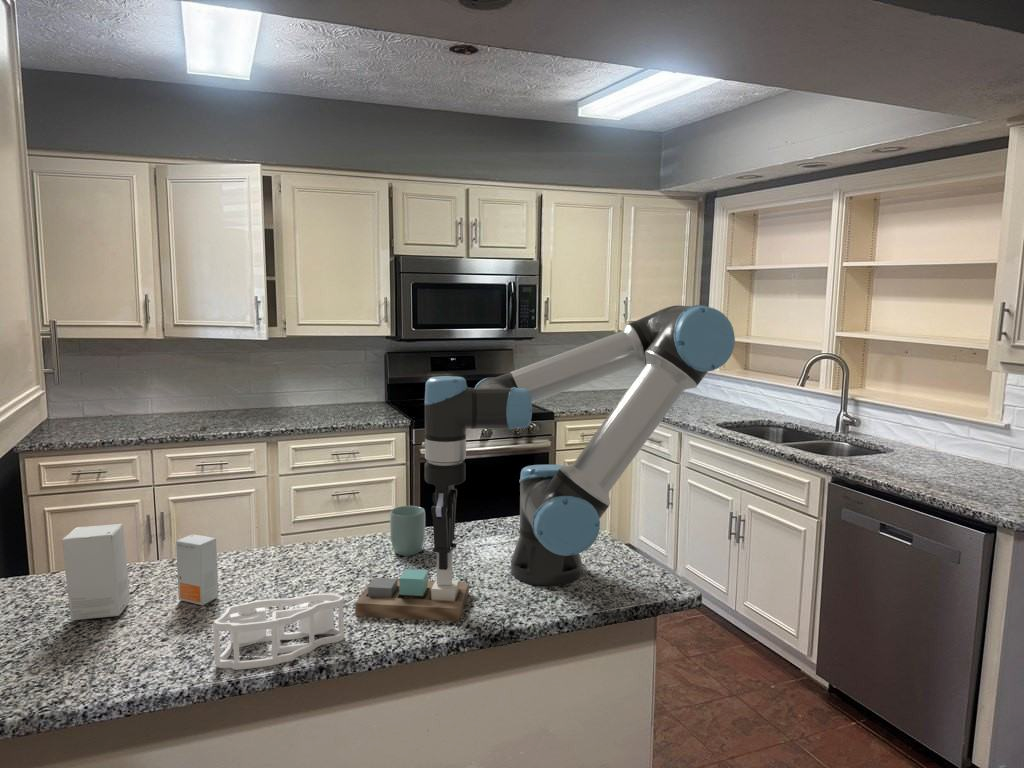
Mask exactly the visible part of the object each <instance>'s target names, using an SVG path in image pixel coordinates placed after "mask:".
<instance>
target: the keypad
mask: <svg viewBox="0 0 1024 768" xmlns="http://www.w3.org/2000/svg"><path fill="white" fill-rule="evenodd" d="M373 580H374V578H372V579H371V581H370V582H369V583H368V585H367V586H366V588H365V589H364V591H363V592H362V593H361V594H360V595H359V597H358V598H357V600H356V602H355V605H354V606H355V614H354V615H355V617H365V618H366V617H367V618H381V619H382V618H384V619H405V620H408V619H409V620H423V621H426V620H427V621H445V622H446V621H450V622H460V621H461V617H462V615H463V612H464V609H465V606H466V603H467V600H468V598H469V594H470V593H469V591H470V590H469V583H468V582H459V596H458V599H457V601H443V600H431V589H432V587H433V585H434V582H435V581H434V580H432V581H429V580H428V587H427V589H426V591H425V593H424V595H423V596H414V595H400V579H397V592H396V593H395V595H394V597H393V598H384V597H368V587H369V585H370V584H371V582H372V581H373Z"/></svg>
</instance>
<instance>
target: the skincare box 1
mask: <svg viewBox="0 0 1024 768" xmlns="http://www.w3.org/2000/svg"><path fill="white" fill-rule="evenodd" d="M124 533H125V531H124V524H123V523H117V524H116V523H115V524H103V525H91V526H90V525H89V526H78V527H75V528H74V529H72V530H71V532H69V533H68V534H67V535H65V536H64V537H63V538H62V539H61V543H62V544H61V547H62V553H63V554H62V555H63V562H64V563H63V564H64V571H65V579H66V589H67V597H68V598H67V599H68V607H69V615H70V621H79V620H89V619H90V620H92V619H100V618H108V617H119V616H120V615H121V614H122V613H123V611H124V610H125V609H126V607H127V606H128V605H129V603H130V602H131V595H130V583H129V575H128V562H127V554H126V553H127V552H126V543H125V534H124Z"/></svg>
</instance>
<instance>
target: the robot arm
mask: <svg viewBox="0 0 1024 768" xmlns="http://www.w3.org/2000/svg"><path fill="white" fill-rule="evenodd" d="M735 343H736V337H735V331H734V328H733V325H732V323H731V321H730V320H729V318H728V316H726V315H725V314H724V313H723V312H722V311H720V310H718V309H716V308H715V307H710V306H707V305H703V304H695V305H671V306H668V307H664V308H662V309H659V310H658V311H655V312H654V313H651V314H649V315H648V314H647V315H646V316H645V317H642V318H639V319H637V320H634V321H632V322H629V323H626V324H624V326H623V328H622V330H621V331H619V332H616V333H614V334H611V335H607V336H605V337H602V338H599V339H597V340H595V341H592V342H588V343H586V344H583V345H581V346H577V347H575V348H572V349H569V350H567V351H564V352H562V353H559V354H557V355H554V356H551V357H548V358H545V359H542V360H539V361H537V362H534V363H532V364H529V365H526V366H524V367H521V368H520V367H519V368H517V369H515V370H513V371H510V372H508V373H505V374H502V375H498V376H495V377H486V378H483V379H481V380H480V381H479V382H477V384H475V385H474V386H475V387H469V386H468V384H467V380H466V379H465V377H463V376H453V375H441V376H432V377H430V378H428V380H427V381H426V382H425V387H424V388H425V389H424V390H425V391H424V441H423V442H422V443H421V447H423V448H425V449H424V459H426V462H425V463H424V481H425V482H426V483H427V484H429V485H433V486H434V487H435V491H434V492H433V493H432V503H433V505H432V506H431V509H430V511H431V516H432V526H433V527H432V529H433V545H434V546H433V548H432V553H436V579H437V585H451V584H452V580H453V548H454V549H456V548H457V544H458V543H454V541H455V540H456V537H455V535H456V534H455V529H456V512H457V510H456V509H457V498H458V489H457V488H455V486H457V485H461V484H462V483H464V482H465V481H466V462H465V459H467V434H466V433H467V432H466V431H467V429H469V430H477V429H479V430H480V429H482V430H483V429H484V430H485V429H486V430H487V429H488V430H493V429H496V430H497V429H499V430H500V429H501V430H502V429H503V430H505V429H507V430H516V429H525V428H528V427H529V426H530V424H531V423H532V422H531V421H532V418H533V417H532V416H533V404H534V403H536V402H539V401H542V400H544V399H547V398H550V397H552V396H555V395H558V394H561V393H563V392H566V391H568V390H572V389H573V388H574V389H575V388H576V387H579V386H582V385H585V384H587V383H590V382H593V381H596V380H599V379H601V378H604V377H606V376H610V375H612V374H615V373H617V372H620V371H623V370H626V369H629V368H631V367H634V366H636V367H638V368H640V369H641V370H640V372H639V373H638V375H637V376H636V377H635V379H634V380H633V381H632V383H631V384H630V385H629V386H628V388H627V389H626V391H624V392H625V393H624V394H623V395H622V396H621V398H620V399H619V401H618V402H617V403H616V405H614V408H613V409H612V410H611V411H610V413H608V415H607V416H606V418H605V419H604V421H603V422H602V423H601V425H600V426H599V428H598V429H597V430H596V432H595V433H594V435H593V436H592V437H591V439H590V440H589V441H588V443H586V446H585V447H584V448H583V449H582V451H581V453H579V455H578V456H577V457H576V459H575V460H574V462H573V463H572V464H571V465H567V464H566V465H565V464H533V465H527V466H525V467H523V468H521V471H520V477H519V478H520V479H519V481H518V482H519V484H520V485H519V492H520V495H519V537H518V539H517V542H516V545H515V548H514V551H513V554H512V557H511V561H510V572H511V575H512V576H513V577H514V578H516V580H519V581H521V582H524V583H527V584H530V585H536V586H544V587H551V586H552V587H553V586H554V587H556V586H562V585H566V584H567V585H568V584H571V583H574V582H576V581H577V580H579V579H580V578H581V577H582V574H583V562H582V558H581V555H580V554H582V553H583V552H586V551H587V550H588V549H589V548H590V547H592V546H593V544H594V543H595V542H596V540H597V538H598V537H599V533H600V529H601V521H600V519H601V518H602V516H603V515H604V514H605V512H606V511H607V509H608V508H609V507H610V505H611V500H610V492H611V490H612V489H613V487H614V486H615V485H616V483H617V482H618V481H619V479H620V478H621V477H622V476H623V473H624V472H625V471H626V470H627V468H628V467H629V466H630V464H631V463H632V461H633V460H634V459H635V457H636V456H637V454H639V452H640V451H641V449H642V448H643V446H644V445H645V443H646V442H647V441H648V439H649V438H650V437H651V436H652V434H653V433H654V431H655V430H656V429H657V427H658V426H659V425H660V424H661V422H662V421H663V419H664V418H665V417H666V415H667V413H668V412H669V411H670V410H671V409H672V407H673V405H674V404H675V403H676V402H677V400H678V399H679V397H680V396H681V395H682V393H683V392H684V391H685V390H689V389H690V390H691V389H695V388H697V386H699V384H700V382H701V381H702V380H703V379H704V378H705V376H706V374H707V373H708V372H713V371H716V370H717V369H720V368H721V367H722V366H724V365H725V364H726V363H727V362H728V361H729V359H730V358H731V356H732V354H733V352H734V349H735Z"/></svg>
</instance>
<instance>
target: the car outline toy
mask: <svg viewBox="0 0 1024 768" xmlns="http://www.w3.org/2000/svg"><path fill="white" fill-rule="evenodd" d="M344 603H345V602H344V596H342V595H340V594H338V593H324V592H323V593H315V594H307V595H302V596H297V597H290V598H289V597H288V598H287V597H286V598H272V599H261V600H255V601H251V602H245V603H241V604H237V605H236V604H235V605H232V606H231V605H230V606H228V607H227V608H226V609H225V612H224V613H223V614H221V616H219V617H218V618H216V619H215V620H214V621H213V625H212V627H213V628H212V629H213V648H214V649H213V650H214V665H215V667H217V668H219V669H232V670H236V671H238V670H247V669H257V668H264V667H270V666H276V665H279V664H282V663H288V662H292V661H295V660H296V659H297V658H298V657H300V656H303V655H305V654H308V653H310V652H312V651H314V650H315V649H316V648H318V647H320V646H323V645H327V644H328V645H329V644H331V643H332V644H333V643H337V642H340V641H343V640H344V639H345V631H344V630H345V629H344V628H345V627H344V625H345V623H344V622H345V621H344V619H345V618H344ZM297 605H298V607H297V608H289V609H284V608H285V607H288V606H291V607H292V606H297ZM271 607H278V610H275V611H273V612H272V614H271V615H272V616H271V620H267V614H266V613H267V611H266V608H271ZM335 609H338V627H334V625H335V617H334V616H335V615H334V613H335V611H334V610H335ZM228 620H229V622H227V621H228ZM298 621H299V630H300V631H295V632H285V626H290V625H293V624H294V623H296V622H298ZM269 629H270V631H271V633H269V634H267V630H269ZM227 631H229V635H230V636H229V637H230V640H231V641H230V642H229V643H228V644H227V646H226V649H225V650H224V651H223V652H222V653H221V646H220V645H221V644H220V643H221V641H220V632H227ZM316 635H331V636H325V637H321V638H317V639H315V636H316ZM305 637H308V638H309V639H308V642H305V643H304V642H303V643H296V644H287V645H281V641H285V640H286V641H287V640H289V641H290V640H298V639H302V638H305ZM263 642H271V657H266V658H265V657H264V658H259V659H250V660H249V659H248V660H240V648H241V647H246V646H250V645H253V644H258V643H263ZM232 650H233V659H228V658H229V657H230V656H231V654H232Z"/></svg>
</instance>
